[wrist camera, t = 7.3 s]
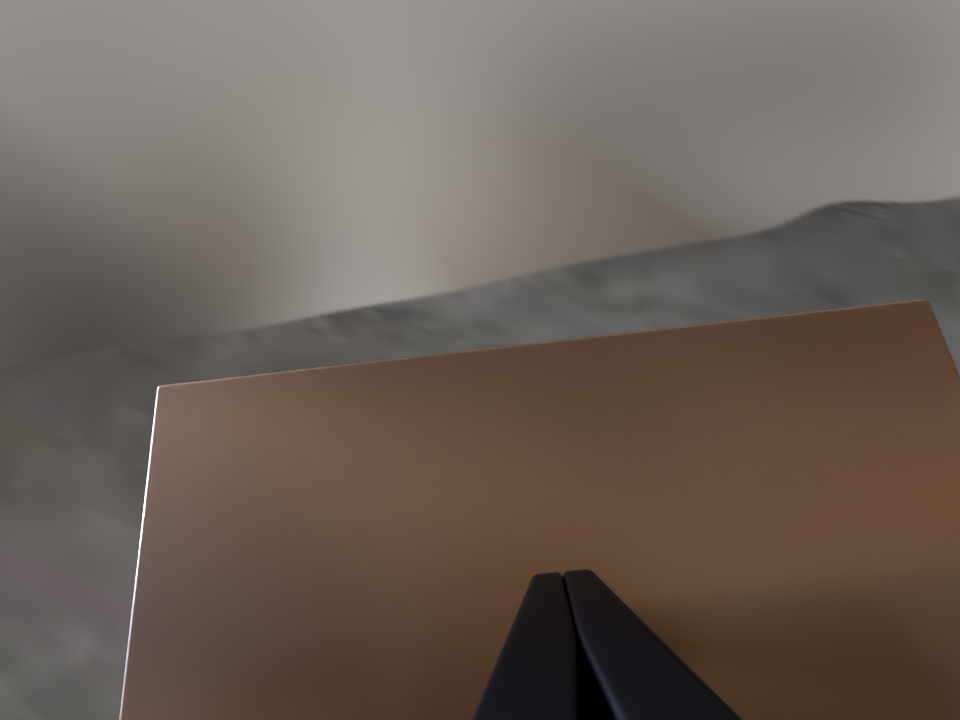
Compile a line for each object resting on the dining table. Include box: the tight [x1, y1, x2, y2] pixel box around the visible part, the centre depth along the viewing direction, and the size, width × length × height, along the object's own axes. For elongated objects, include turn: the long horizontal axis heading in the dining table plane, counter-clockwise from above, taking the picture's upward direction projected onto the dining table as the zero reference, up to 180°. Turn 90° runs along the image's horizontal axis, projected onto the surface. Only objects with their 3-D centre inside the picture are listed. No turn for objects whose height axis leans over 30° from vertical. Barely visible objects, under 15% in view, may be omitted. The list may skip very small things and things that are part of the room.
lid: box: [119, 299, 960, 720], centre depth 8 cm, size 11×14×1 cm
